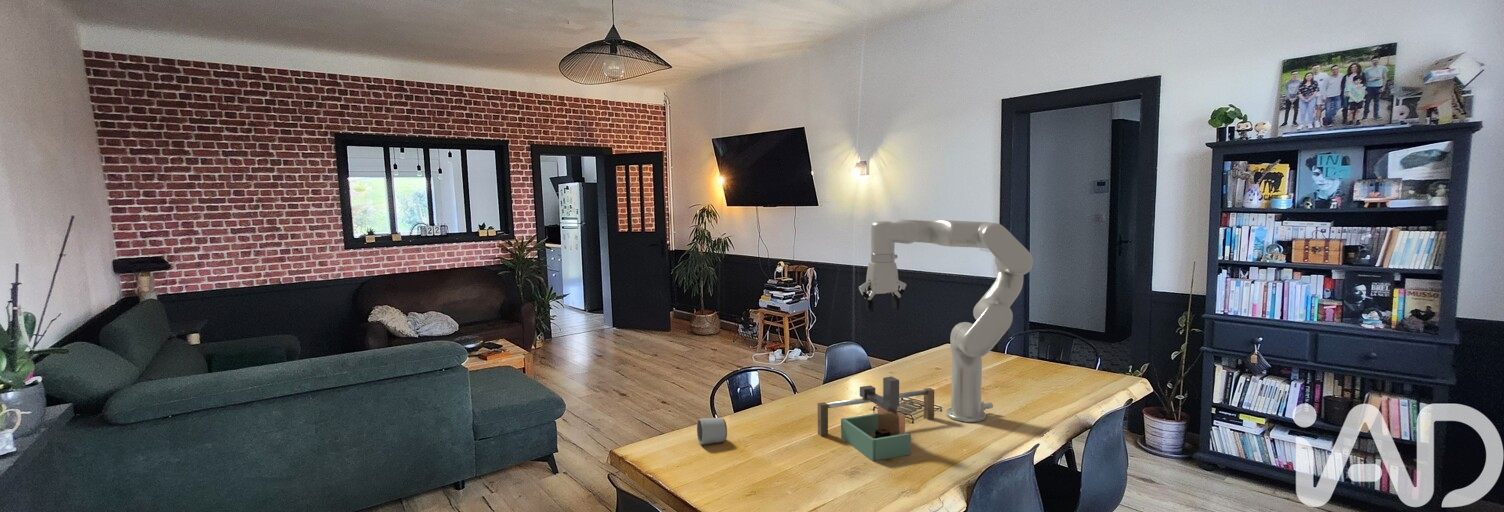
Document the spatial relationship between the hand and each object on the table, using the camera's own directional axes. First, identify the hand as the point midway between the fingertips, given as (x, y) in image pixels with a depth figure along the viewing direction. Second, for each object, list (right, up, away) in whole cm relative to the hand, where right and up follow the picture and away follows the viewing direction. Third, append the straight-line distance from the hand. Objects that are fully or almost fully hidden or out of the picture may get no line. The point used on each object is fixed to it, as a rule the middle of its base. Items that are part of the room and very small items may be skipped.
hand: (882, 310), depth 212 cm
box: (-7, -39, -21) cm, 45 cm away
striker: (-3, -37, -15) cm, 40 cm away
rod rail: (-3, -37, -5) cm, 37 cm away
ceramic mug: (-56, -39, -15) cm, 70 cm away
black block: (-4, -39, -20) cm, 44 cm away
